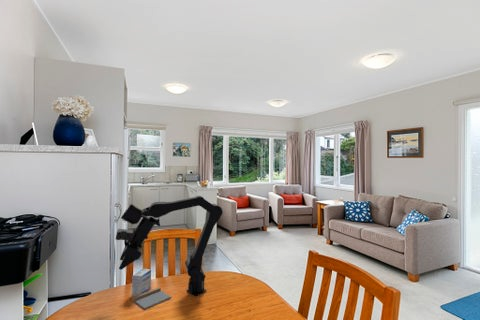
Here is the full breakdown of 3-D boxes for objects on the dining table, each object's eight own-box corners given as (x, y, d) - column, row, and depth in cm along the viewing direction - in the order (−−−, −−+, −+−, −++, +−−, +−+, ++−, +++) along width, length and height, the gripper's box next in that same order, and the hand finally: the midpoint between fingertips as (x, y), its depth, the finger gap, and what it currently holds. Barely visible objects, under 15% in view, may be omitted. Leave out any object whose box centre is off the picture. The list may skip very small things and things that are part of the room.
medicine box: (140, 297, 108) (141, 276, 108) (131, 296, 109) (131, 275, 109) (150, 288, 116) (151, 269, 116) (141, 287, 117) (142, 268, 117)
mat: (159, 290, 114) (159, 287, 114) (171, 298, 109) (171, 294, 109) (132, 301, 105) (133, 297, 105) (144, 309, 99) (144, 305, 99)
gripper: (125, 215, 114) (103, 247, 111) (124, 227, 96) (98, 265, 93) (148, 227, 117) (127, 258, 114) (151, 240, 100) (127, 277, 97)
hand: (120, 264), depth 105 cm, fingers open, 9 cm apart
